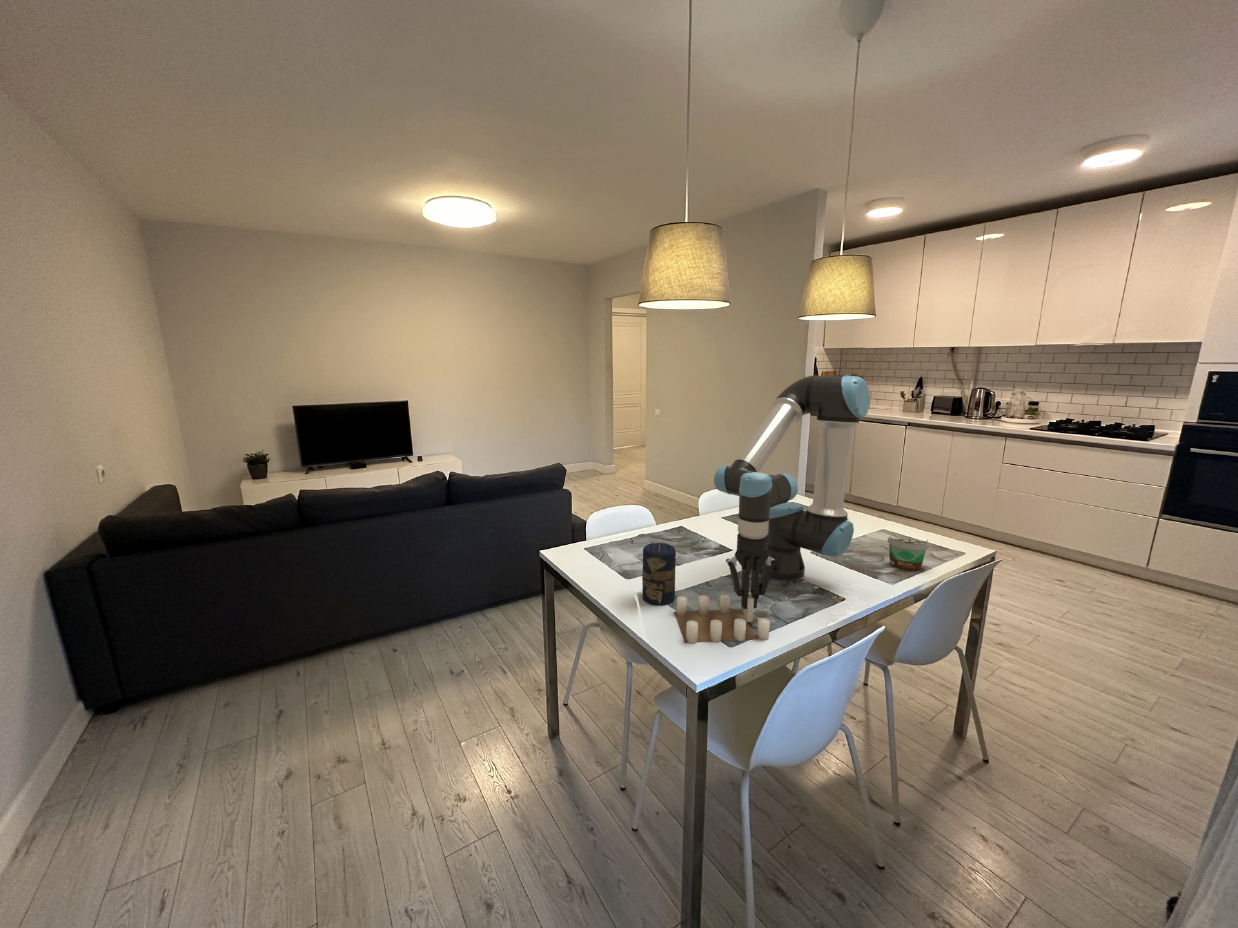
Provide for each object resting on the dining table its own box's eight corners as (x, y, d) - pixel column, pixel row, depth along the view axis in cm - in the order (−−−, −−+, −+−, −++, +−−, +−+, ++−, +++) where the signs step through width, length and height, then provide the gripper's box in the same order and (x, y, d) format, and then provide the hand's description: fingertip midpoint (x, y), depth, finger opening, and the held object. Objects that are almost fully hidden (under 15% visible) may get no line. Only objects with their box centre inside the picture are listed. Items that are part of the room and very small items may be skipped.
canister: (637, 606, 138) (638, 547, 134) (647, 591, 146) (648, 536, 143) (670, 611, 134) (671, 551, 131) (678, 596, 143) (679, 540, 139)
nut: (765, 617, 129) (765, 608, 128) (772, 628, 123) (773, 619, 123) (747, 618, 128) (747, 609, 128) (754, 629, 123) (755, 620, 122)
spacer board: (765, 612, 134) (765, 608, 134) (787, 642, 119) (787, 637, 119) (673, 615, 132) (673, 611, 132) (684, 646, 117) (684, 642, 117)
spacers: (749, 608, 134) (750, 593, 133) (770, 640, 118) (771, 623, 117) (675, 611, 132) (676, 596, 131) (687, 643, 117) (687, 626, 116)
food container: (887, 569, 161) (890, 541, 159) (884, 562, 166) (887, 535, 164) (930, 574, 156) (934, 546, 154) (925, 567, 162) (929, 539, 160)
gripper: (772, 528, 125) (767, 611, 130) (723, 529, 124) (719, 612, 129) (783, 538, 117) (777, 625, 122) (731, 540, 117) (727, 627, 121)
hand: (748, 619), depth 125 cm, fingers closed
